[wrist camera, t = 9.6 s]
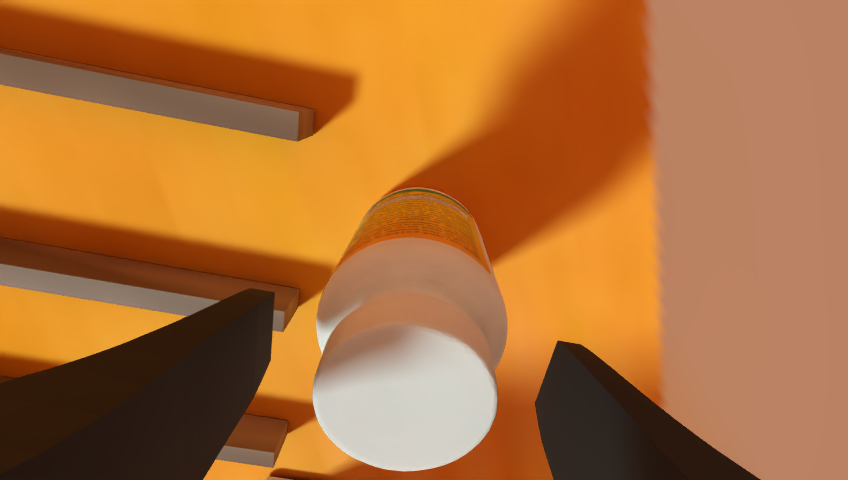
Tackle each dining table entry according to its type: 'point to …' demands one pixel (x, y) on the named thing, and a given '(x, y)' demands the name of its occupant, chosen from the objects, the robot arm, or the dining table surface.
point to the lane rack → (142, 280)
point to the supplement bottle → (410, 336)
